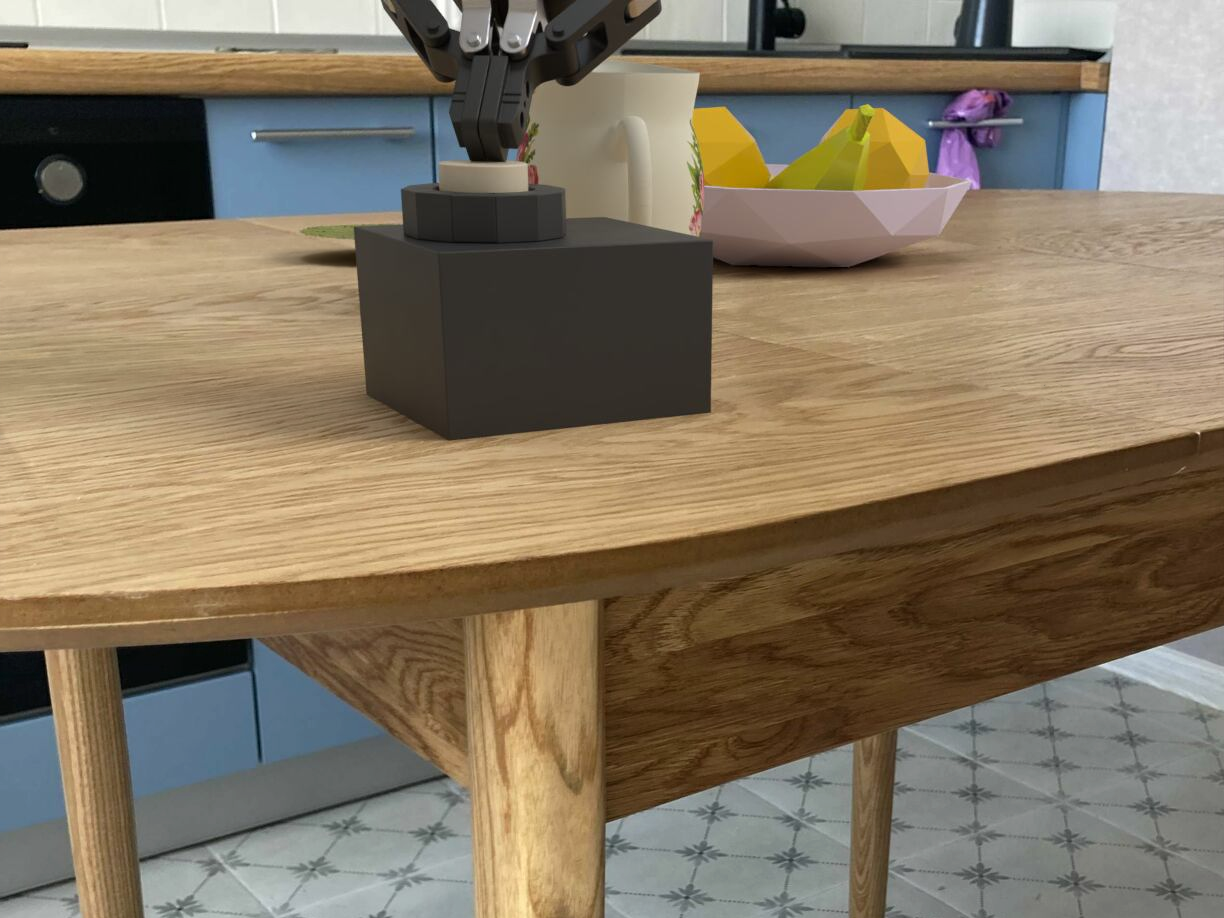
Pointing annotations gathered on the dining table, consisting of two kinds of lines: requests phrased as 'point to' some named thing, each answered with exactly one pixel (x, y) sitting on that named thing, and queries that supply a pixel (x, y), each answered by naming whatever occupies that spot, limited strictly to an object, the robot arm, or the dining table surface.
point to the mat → (335, 231)
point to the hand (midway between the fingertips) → (483, 146)
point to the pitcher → (620, 145)
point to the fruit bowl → (820, 193)
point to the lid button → (483, 176)
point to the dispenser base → (531, 315)
